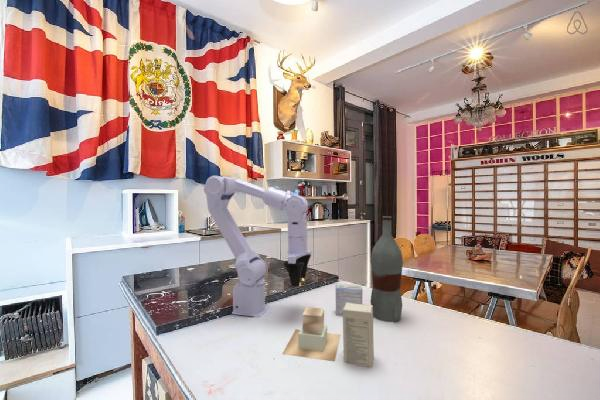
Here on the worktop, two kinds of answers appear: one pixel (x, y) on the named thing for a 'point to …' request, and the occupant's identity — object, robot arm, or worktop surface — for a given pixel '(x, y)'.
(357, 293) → the medicine box
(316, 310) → the maple cube
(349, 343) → the skincare box
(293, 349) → the cork mat
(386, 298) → the bottle
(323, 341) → the sage block
